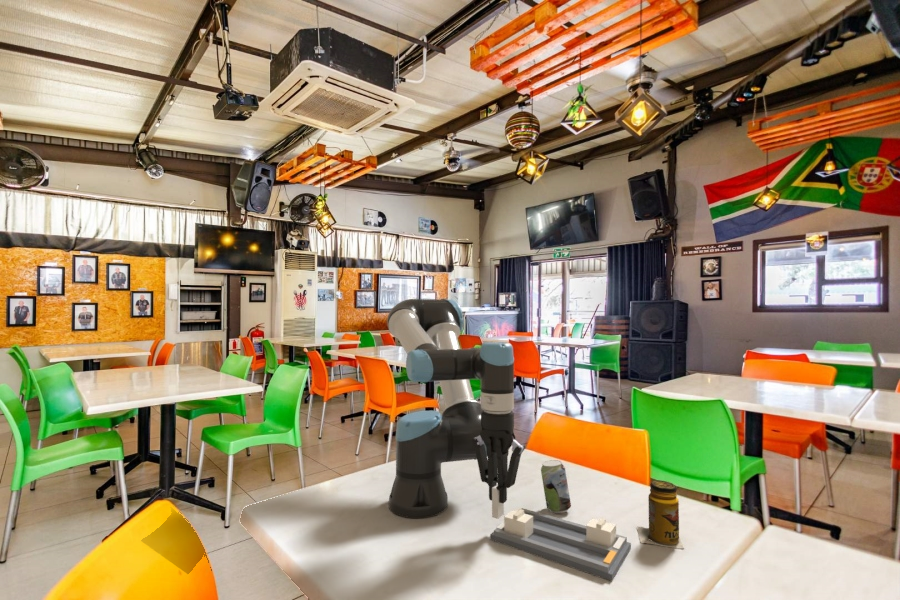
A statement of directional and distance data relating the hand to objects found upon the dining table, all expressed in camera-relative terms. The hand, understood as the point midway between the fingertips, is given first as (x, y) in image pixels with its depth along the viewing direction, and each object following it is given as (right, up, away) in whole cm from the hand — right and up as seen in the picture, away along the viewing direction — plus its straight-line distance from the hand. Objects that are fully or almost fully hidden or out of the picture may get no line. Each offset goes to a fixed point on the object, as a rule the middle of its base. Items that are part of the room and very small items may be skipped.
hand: (497, 515), depth 101 cm
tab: (+4, -2, -3) cm, 6 cm away
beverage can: (+16, -5, +12) cm, 20 cm away
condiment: (+35, -4, -2) cm, 36 cm away
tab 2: (+21, -2, -7) cm, 22 cm away
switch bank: (+13, -4, -5) cm, 14 cm away
